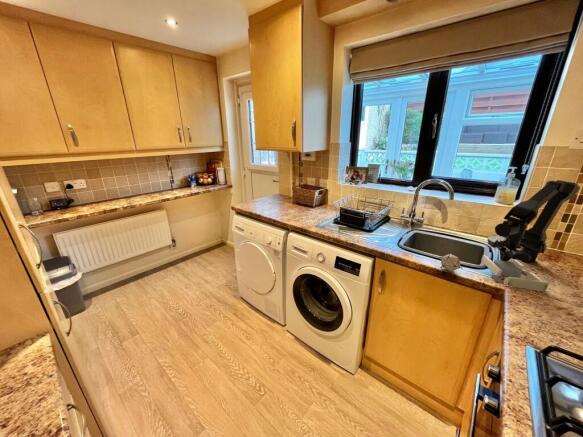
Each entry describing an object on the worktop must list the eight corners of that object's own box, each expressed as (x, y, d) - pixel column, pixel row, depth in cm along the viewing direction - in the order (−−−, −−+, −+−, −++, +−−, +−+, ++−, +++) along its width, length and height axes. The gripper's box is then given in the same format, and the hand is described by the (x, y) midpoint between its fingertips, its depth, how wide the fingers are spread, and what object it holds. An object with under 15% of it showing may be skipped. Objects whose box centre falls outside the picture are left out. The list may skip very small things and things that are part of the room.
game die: (442, 274, 110) (441, 252, 112) (464, 275, 104) (463, 253, 107) (437, 272, 104) (436, 249, 106) (461, 273, 98) (459, 249, 100)
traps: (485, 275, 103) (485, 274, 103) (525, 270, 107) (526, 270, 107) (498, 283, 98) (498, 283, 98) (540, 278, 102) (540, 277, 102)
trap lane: (481, 260, 115) (483, 255, 114) (512, 264, 112) (515, 258, 111) (506, 286, 97) (509, 280, 95) (544, 291, 94) (548, 285, 93)
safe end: (504, 284, 98) (508, 276, 96) (542, 289, 95) (546, 281, 94) (506, 286, 97) (510, 278, 95) (544, 291, 94) (549, 283, 92)
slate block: (491, 266, 110) (494, 259, 109) (509, 269, 109) (512, 261, 107) (500, 275, 104) (503, 268, 102) (518, 278, 102) (522, 270, 101)
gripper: (483, 223, 114) (472, 251, 120) (506, 240, 97) (493, 271, 103) (509, 225, 112) (497, 254, 118) (538, 243, 95) (522, 275, 101)
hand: (501, 263), depth 110 cm, fingers closed
